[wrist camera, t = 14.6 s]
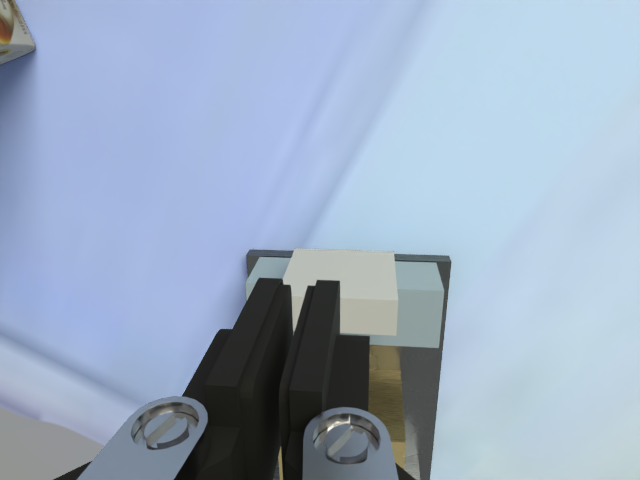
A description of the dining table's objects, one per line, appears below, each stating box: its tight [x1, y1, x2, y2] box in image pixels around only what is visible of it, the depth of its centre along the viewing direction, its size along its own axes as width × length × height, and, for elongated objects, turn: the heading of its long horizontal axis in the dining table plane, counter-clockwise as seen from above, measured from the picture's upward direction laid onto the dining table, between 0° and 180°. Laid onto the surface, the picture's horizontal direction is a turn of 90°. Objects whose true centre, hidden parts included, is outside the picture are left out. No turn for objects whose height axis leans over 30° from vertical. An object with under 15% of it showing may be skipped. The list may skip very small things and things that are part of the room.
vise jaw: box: [245, 248, 444, 348], centre depth 29 cm, size 12×6×9 cm, turn 91°
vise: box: [246, 250, 451, 480], centre depth 35 cm, size 14×20×5 cm
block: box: [278, 369, 406, 480], centre depth 33 cm, size 8×4×7 cm, turn 91°
